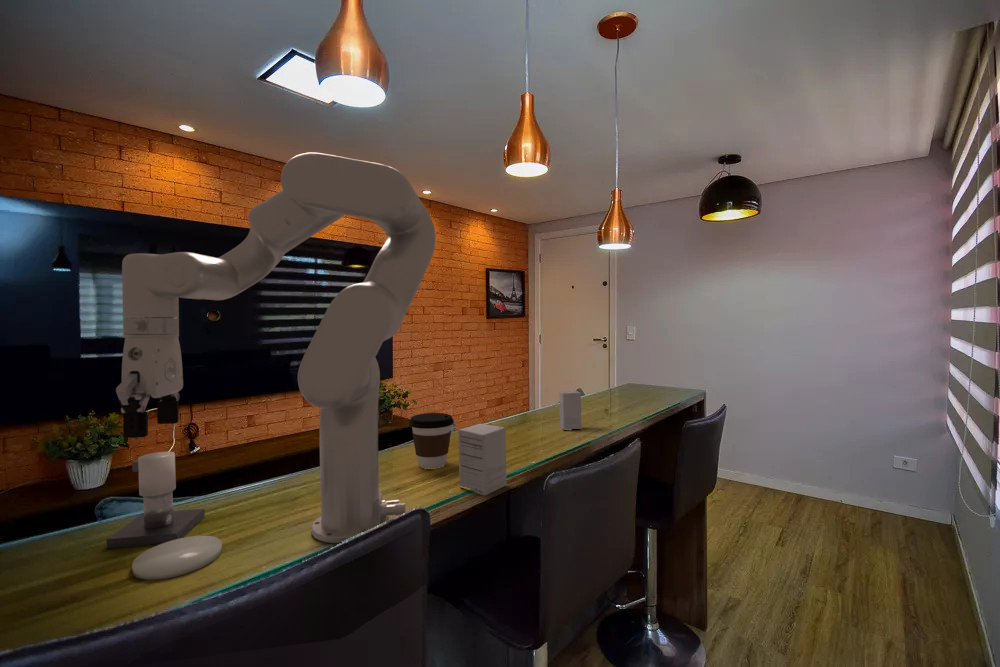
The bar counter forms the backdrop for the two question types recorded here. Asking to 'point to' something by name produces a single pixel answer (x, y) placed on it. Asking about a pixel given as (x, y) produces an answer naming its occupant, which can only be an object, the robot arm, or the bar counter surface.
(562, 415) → the skincare box
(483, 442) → the supplement box
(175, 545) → the white domed disc
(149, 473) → the cap
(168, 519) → the square base with cylinder
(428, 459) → the coffee cup
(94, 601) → the bar counter surface
